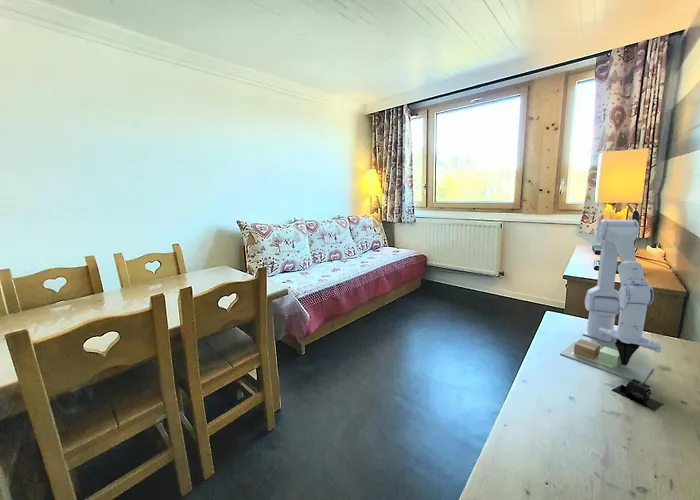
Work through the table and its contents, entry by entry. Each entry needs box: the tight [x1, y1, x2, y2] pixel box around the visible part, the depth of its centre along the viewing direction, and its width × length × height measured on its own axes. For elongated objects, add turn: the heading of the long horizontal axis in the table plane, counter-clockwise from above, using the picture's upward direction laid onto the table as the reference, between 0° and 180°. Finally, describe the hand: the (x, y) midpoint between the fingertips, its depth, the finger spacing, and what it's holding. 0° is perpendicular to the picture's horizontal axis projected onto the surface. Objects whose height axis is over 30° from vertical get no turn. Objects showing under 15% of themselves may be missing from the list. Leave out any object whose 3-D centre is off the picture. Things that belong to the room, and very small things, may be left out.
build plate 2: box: [610, 379, 665, 412], centre depth 85 cm, size 12×7×5 cm, turn 25°
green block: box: [598, 346, 621, 367], centre depth 101 cm, size 5×5×4 cm
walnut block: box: [574, 338, 601, 360], centre depth 106 cm, size 6×6×4 cm
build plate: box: [559, 341, 654, 385], centre depth 102 cm, size 12×21×1 cm, turn 37°
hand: (624, 363), depth 98 cm, fingers closed
